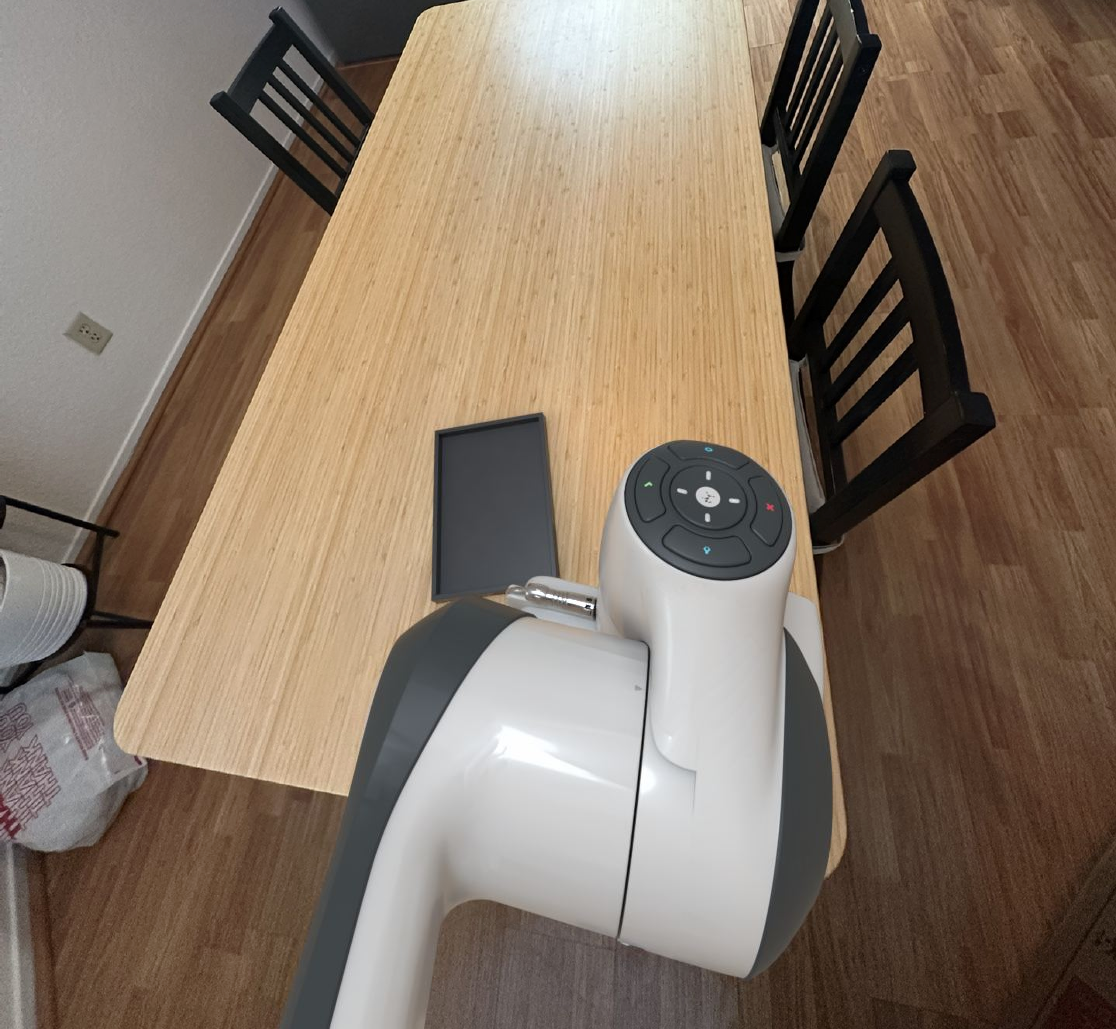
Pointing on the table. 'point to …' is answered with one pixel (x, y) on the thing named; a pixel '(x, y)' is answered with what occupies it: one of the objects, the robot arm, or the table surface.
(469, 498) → the tray
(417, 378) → the table surface
